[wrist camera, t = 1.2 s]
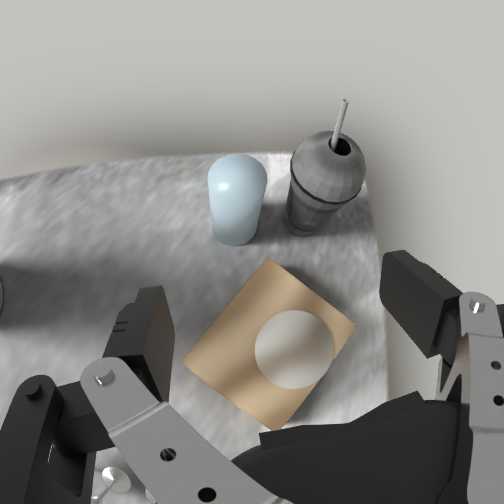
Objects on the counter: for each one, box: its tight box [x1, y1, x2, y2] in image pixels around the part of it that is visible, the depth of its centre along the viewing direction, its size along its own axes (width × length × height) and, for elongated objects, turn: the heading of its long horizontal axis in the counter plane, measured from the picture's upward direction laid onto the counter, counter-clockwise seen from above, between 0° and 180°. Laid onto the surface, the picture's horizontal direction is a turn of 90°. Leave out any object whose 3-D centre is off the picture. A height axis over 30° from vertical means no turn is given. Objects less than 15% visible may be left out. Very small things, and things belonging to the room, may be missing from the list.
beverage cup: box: [285, 99, 366, 237], centre depth 30 cm, size 7×7×20 cm
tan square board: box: [181, 257, 357, 431], centre depth 32 cm, size 12×14×4 cm
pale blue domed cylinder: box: [208, 154, 267, 246], centre depth 33 cm, size 5×5×11 cm
